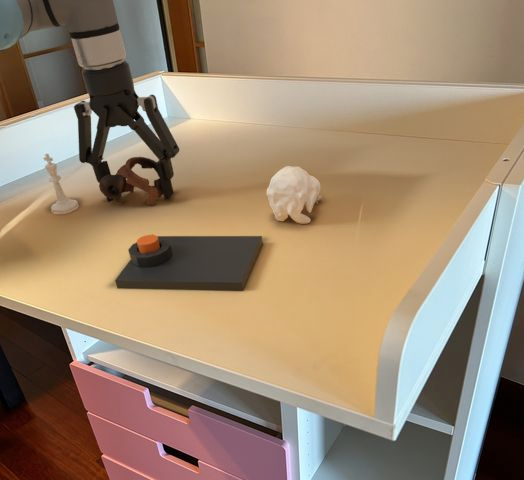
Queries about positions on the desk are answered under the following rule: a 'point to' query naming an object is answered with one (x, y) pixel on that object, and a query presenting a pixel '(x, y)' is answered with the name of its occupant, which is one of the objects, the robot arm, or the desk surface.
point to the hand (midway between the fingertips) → (140, 197)
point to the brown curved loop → (131, 181)
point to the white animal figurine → (293, 194)
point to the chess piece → (59, 191)
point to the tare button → (148, 244)
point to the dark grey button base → (192, 263)
